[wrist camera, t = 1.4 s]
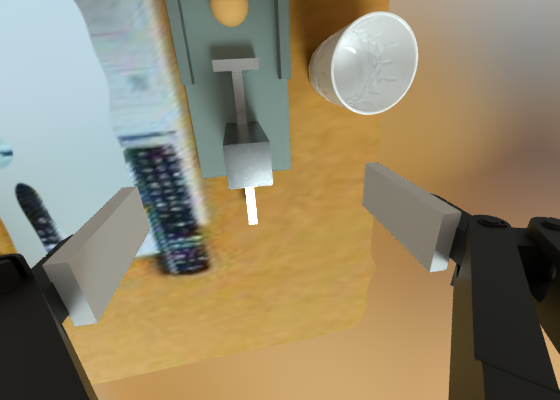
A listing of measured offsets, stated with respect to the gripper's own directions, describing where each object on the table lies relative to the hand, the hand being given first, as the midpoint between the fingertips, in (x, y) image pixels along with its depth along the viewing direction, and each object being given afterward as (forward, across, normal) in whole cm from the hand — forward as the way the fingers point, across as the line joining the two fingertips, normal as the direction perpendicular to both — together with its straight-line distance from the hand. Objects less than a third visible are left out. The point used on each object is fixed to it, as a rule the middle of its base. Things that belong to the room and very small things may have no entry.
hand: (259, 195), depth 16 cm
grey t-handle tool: (+17, 0, -1) cm, 17 cm away
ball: (+16, 0, +12) cm, 20 cm away
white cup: (+20, +11, +6) cm, 24 cm away
